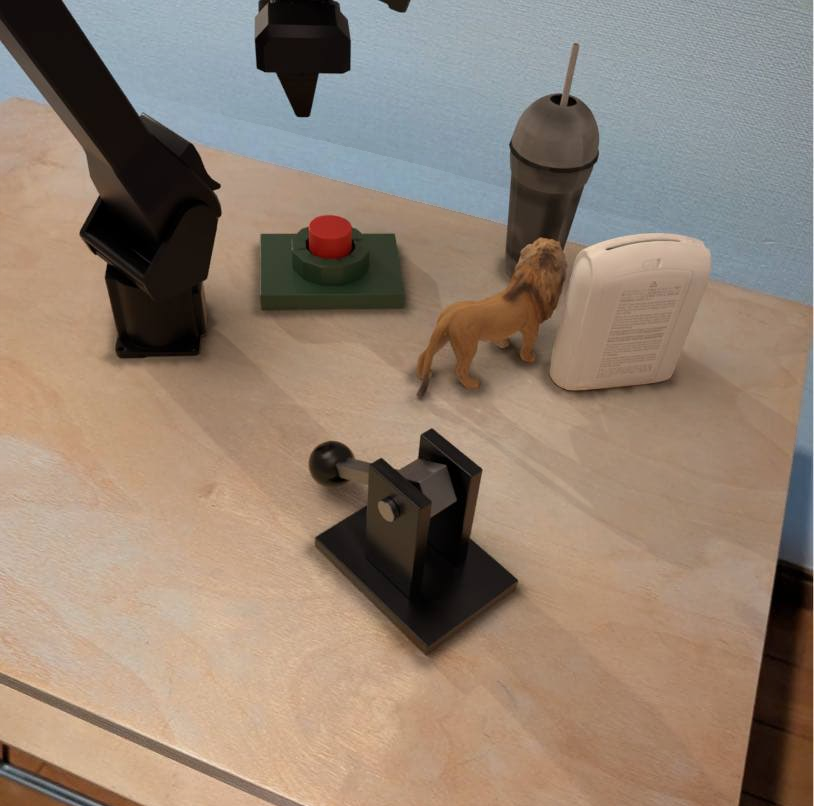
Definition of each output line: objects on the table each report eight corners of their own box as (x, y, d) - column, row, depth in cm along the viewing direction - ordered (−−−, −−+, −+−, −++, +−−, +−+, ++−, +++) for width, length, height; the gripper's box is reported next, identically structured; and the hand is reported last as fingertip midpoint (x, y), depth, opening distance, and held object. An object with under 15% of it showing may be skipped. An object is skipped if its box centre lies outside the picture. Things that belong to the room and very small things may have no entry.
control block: (261, 312, 76) (258, 276, 73) (261, 250, 82) (258, 214, 79) (403, 310, 77) (406, 275, 75) (394, 249, 83) (396, 214, 80)
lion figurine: (519, 312, 78) (537, 218, 71) (566, 343, 76) (590, 249, 69) (394, 386, 71) (401, 289, 64) (443, 422, 69) (455, 325, 62)
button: (309, 260, 76) (309, 238, 74) (308, 236, 78) (307, 214, 76) (352, 260, 76) (353, 238, 74) (350, 236, 78) (350, 214, 77)
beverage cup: (569, 253, 84) (623, 22, 69) (570, 300, 80) (628, 64, 64) (491, 244, 84) (527, 11, 69) (488, 291, 80) (525, 53, 64)
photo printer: (657, 350, 76) (704, 216, 66) (678, 384, 73) (730, 250, 64) (541, 362, 74) (572, 226, 65) (558, 398, 72) (593, 262, 62)
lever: (308, 492, 63) (293, 450, 61) (345, 471, 64) (330, 430, 63) (425, 528, 53) (410, 480, 51) (465, 502, 54) (451, 454, 53)
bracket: (314, 548, 61) (312, 443, 53) (404, 492, 64) (413, 387, 57) (425, 657, 56) (440, 560, 48) (515, 590, 59) (542, 490, 52)
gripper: (436, -68, 54) (418, 179, 66) (405, -161, 66) (394, 63, 78) (246, -74, 53) (263, 178, 65) (249, -168, 64) (262, 60, 76)
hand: (302, 115), depth 71 cm, fingers closed
